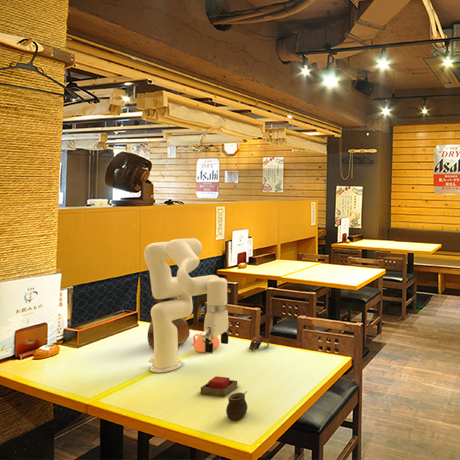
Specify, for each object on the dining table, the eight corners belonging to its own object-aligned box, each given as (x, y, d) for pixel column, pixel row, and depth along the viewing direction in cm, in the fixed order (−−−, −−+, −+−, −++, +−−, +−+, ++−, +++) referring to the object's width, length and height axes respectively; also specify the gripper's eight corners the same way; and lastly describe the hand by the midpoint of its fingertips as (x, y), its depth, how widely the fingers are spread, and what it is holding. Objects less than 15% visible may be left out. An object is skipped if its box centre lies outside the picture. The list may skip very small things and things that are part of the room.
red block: (208, 390, 151) (208, 381, 151) (215, 385, 156) (215, 376, 156) (222, 392, 150) (222, 382, 150) (229, 386, 155) (229, 377, 155)
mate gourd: (230, 411, 138) (230, 385, 137) (251, 411, 138) (251, 385, 137) (222, 422, 130) (222, 395, 130) (244, 422, 131) (244, 395, 130)
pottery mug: (249, 346, 203) (257, 332, 205) (265, 353, 204) (272, 339, 206) (245, 349, 191) (253, 334, 193) (261, 356, 192) (269, 341, 194)
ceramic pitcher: (165, 337, 213) (164, 287, 212) (197, 339, 211) (197, 288, 210) (138, 350, 194) (136, 294, 192) (173, 352, 192) (172, 296, 190)
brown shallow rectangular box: (200, 394, 150) (200, 387, 150) (214, 384, 158) (214, 378, 158) (224, 397, 148) (224, 390, 148) (237, 387, 156) (237, 380, 156)
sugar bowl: (212, 354, 190) (212, 335, 190) (185, 353, 191) (185, 334, 190) (224, 345, 203) (223, 327, 202) (199, 345, 203) (198, 327, 202)
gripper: (222, 301, 162) (222, 339, 163) (194, 313, 145) (194, 355, 146) (237, 303, 160) (237, 341, 162) (211, 314, 143) (211, 357, 145)
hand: (217, 347), depth 154 cm, fingers open, 9 cm apart
